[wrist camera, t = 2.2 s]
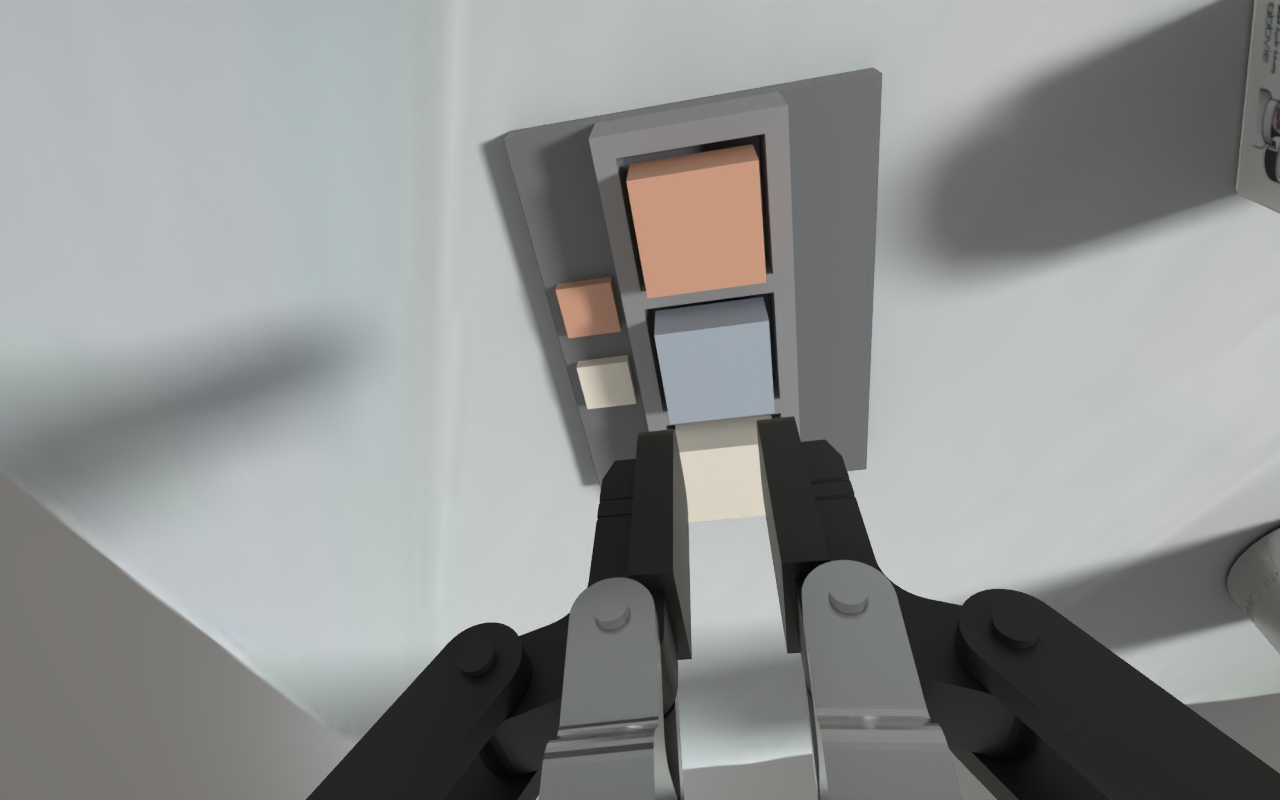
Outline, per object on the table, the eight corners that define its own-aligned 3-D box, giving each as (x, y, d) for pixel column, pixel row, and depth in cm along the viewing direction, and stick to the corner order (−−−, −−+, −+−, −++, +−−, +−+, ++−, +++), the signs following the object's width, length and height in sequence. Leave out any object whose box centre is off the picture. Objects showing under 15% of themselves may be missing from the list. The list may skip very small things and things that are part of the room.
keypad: (873, 67, 24) (900, 85, 21) (860, 453, 35) (877, 500, 32) (509, 131, 26) (489, 155, 23) (604, 479, 36) (598, 525, 34)
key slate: (763, 296, 26) (768, 320, 25) (768, 385, 29) (774, 412, 27) (655, 311, 27) (654, 335, 25) (670, 397, 29) (670, 424, 28)
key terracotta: (752, 143, 23) (758, 160, 21) (760, 259, 25) (766, 282, 24) (629, 163, 23) (626, 181, 22) (649, 275, 26) (647, 298, 24)
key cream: (771, 414, 30) (776, 442, 28) (775, 485, 32) (781, 514, 30) (675, 424, 30) (675, 452, 29) (687, 493, 33) (688, 522, 31)
